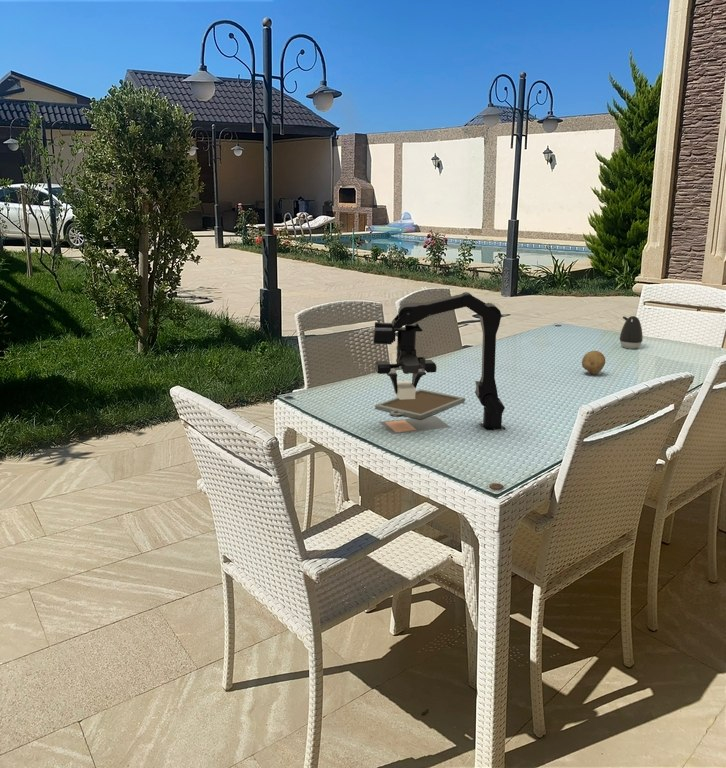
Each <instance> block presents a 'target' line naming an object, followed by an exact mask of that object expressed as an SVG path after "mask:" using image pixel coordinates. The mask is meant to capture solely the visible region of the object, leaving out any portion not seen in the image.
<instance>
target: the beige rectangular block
mask: <svg viewBox="0 0 726 768" xmlns="http://www.w3.org/2000/svg"><path fill="white" fill-rule="evenodd" d="M397 389H398V390H397V394H396V393H395V390H394V389H393V393H394V395H396V398H397V397H398V398H399V399H400V400H402V399H415V392H416V391H417V390H416V389H417V387H416V388H415V387H414V386H413V385H412V381H410V380H399V381H398V380H397Z"/></svg>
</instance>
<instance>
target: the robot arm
mask: <svg viewBox="0 0 726 768" xmlns="http://www.w3.org/2000/svg"><path fill="white" fill-rule="evenodd" d="M462 308H467V309H470V311H472V312H474V313H476V314H477V315H478V316H479V322H480V327H481V332H482V344H481V345H482V348H481V349H482V350H481V353H482V354H481V376H480V380H479V381H478V380H475V391H474V394H475V395H476V398H477V399H478V401H479V402H480V404H481V406H483V415H482V416H483V417H482V423H479V424H478V425H479V426H480V427H482V428H483V429H485V430H487V431H494V430H504V431H505V430H506V427H505V426H503V425H502V421H503V414H504V411H505V409H506V407H505V405H504V404H503V401H502V400H501V399H500V398H499V395H498V389H497V383H496V376H495V374H496V372H495V371H496V349H497V347H496V346H497V345H496V344H497V333H498V331H499V328H500V324H501V319H502V312H501V310H500V308H499V307H497V306H496V305H495V304H493V303H492V302H487V303H486V302H485V301H482V299H479V298H477V297H476V296H474V295H473V294H472V293H470V292H468V291H467V292H466V291H465V292H463V293H460V294H459V293H458V294H455V295H452V296H448V297H444V298H439V299H436V300H432V301H427V302H407V303H403V304H401V305H400V306H399V308H398V309H397V314H396V316H395V317H394V318H393V319H392V321H391V322H379V321H375V322H374V331H373V345H392V344H393V343H394V342H397V343H396V359H395V362H396V363H390V362H389V361H388V360H376V361H375V362H374V371H375V372H376V373H377V374H378V375H387V377H388V376H389V378H390V381H391V383H392V386H393V391H394V390H395V393H396V394H397V390H398V389H397V381H398V374H397V372H396V371H402V373H403V374H405V375H408V374H412V375H411V376H412V377H411V383H412V385H413V386H414V387H415V388H416V389H417V387H418V383H419V382H420V379H421V378H422V377H423V376H426V375H427V373H430V374H432V373H437V368H438V367H437V364H436V363H435V361H433V360H432V359H426V357H425V356H418V355H417V350H416V343H417V332H419V333H420V332H423V331H424V330H423V328H422V326H420V325H419V323H418V322H420V321H422V320H424V319H426V318H428V317H431V316H434V315H437V314H441V313H442V314H443V313H446V312H450V311H454V310H459V309H462ZM396 332H397V336H396ZM396 337H397V339H396ZM396 340H397V341H396ZM395 393H394V394H395ZM396 394H395V395H396Z"/></svg>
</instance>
